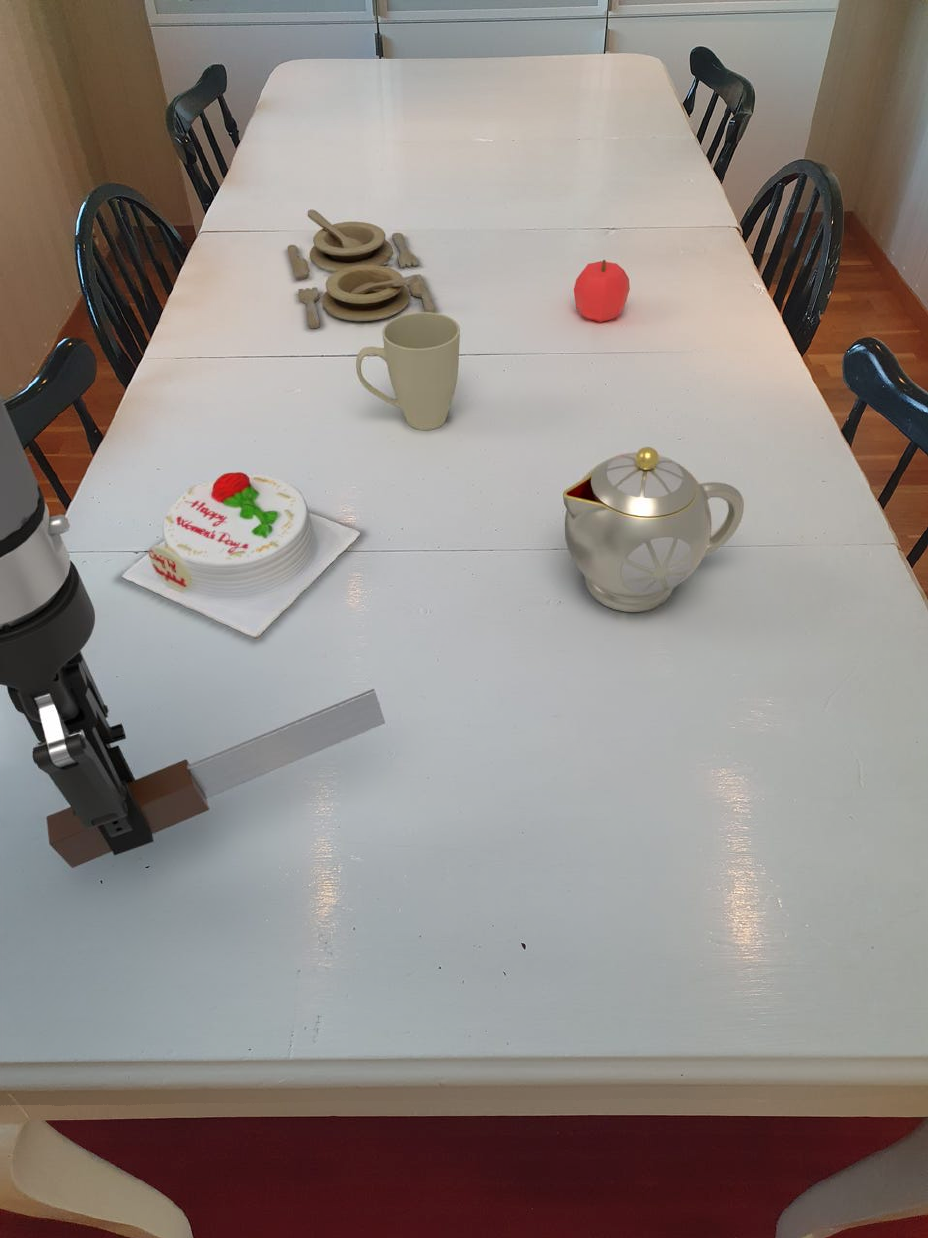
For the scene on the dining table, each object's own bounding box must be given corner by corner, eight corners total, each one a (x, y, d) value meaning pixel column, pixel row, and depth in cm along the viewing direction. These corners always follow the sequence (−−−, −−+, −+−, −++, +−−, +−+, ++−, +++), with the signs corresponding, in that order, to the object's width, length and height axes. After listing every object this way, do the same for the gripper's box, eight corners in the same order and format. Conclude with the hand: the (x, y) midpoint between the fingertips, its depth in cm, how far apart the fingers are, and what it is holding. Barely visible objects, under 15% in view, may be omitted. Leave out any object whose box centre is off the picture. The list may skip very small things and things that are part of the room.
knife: (72, 868, 63) (45, 841, 60) (68, 841, 65) (42, 812, 62) (390, 733, 68) (379, 701, 65) (379, 710, 69) (369, 678, 66)
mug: (418, 389, 118) (413, 302, 110) (477, 416, 113) (475, 326, 105) (359, 426, 112) (348, 337, 104) (417, 455, 108) (411, 364, 99)
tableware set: (287, 248, 150) (281, 211, 146) (403, 234, 153) (401, 198, 149) (308, 333, 130) (301, 293, 125) (442, 314, 132) (440, 275, 128)
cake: (232, 489, 105) (219, 427, 99) (364, 538, 98) (358, 473, 93) (118, 579, 93) (96, 514, 87) (259, 640, 87) (245, 574, 81)
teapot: (573, 644, 86) (586, 506, 74) (539, 551, 95) (547, 416, 83) (754, 617, 88) (794, 480, 76) (703, 529, 97) (732, 395, 85)
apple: (596, 296, 136) (601, 243, 130) (638, 314, 131) (645, 259, 126) (560, 314, 132) (563, 260, 126) (602, 333, 128) (607, 278, 122)
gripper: (92, 664, 44) (204, 899, 60) (60, 487, 54) (163, 730, 71) (-75, 714, 42) (89, 942, 59) (-76, 520, 52) (64, 762, 69)
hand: (129, 826), depth 64 cm, fingers closed on knife, 2 cm apart
